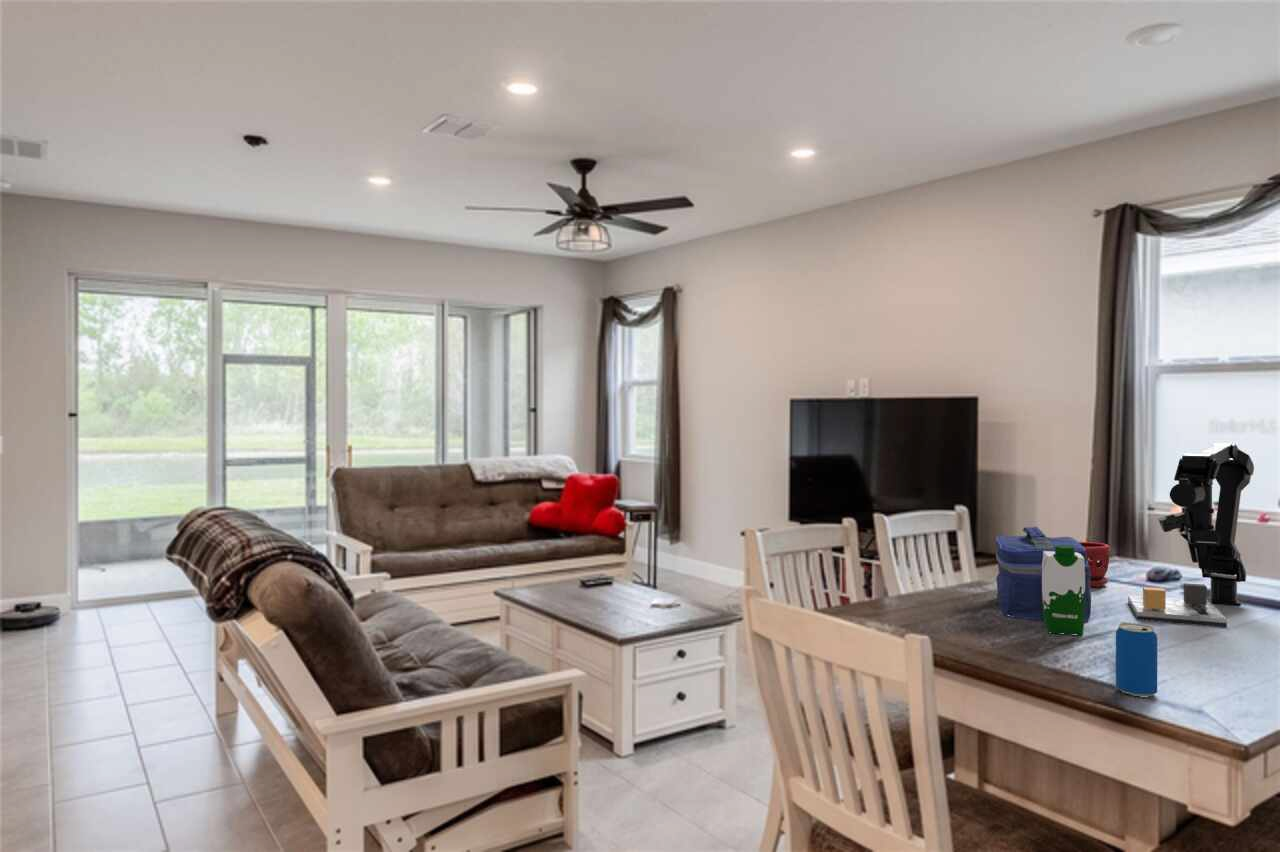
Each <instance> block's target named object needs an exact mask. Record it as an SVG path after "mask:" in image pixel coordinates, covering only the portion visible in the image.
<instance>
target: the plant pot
mask: <svg viewBox="0 0 1280 852" xmlns="http://www.w3.org/2000/svg"><path fill="white" fill-rule="evenodd" d="M1077 542H1078V543H1080V544H1081V545H1082V546H1083V547H1084V548H1085V551H1086V556H1087V561H1088V564H1089V567H1090V571H1089V572H1090V574H1091V581H1090V588H1094V587H1095V588H1096V587H1103V586H1104V585H1106V584H1107V583H1108V581H1109V579H1108V578H1107V577H1106V574H1107V571H1108V568H1109V566H1110V565H1109V564H1110V546H1109V544H1106V543H1101V542H1092V541H1091V542H1089V541H1077Z"/></svg>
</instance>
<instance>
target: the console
mask: <svg viewBox="0 0 1280 852" xmlns="http://www.w3.org/2000/svg"><path fill="white" fill-rule="evenodd" d="M1127 603H1128V605H1129V606H1130V609H1131V610H1132V612H1133V613H1134V616H1135V617H1136V619H1137V621H1145V620H1148V621H1147V622H1157V621H1160V622H1159V623H1169V622H1172V624H1181V623H1184V624H1185V625H1193V624H1196V625H1197V626H1205V625H1209V627H1219V628H1220V627H1221V628H1227V627H1228V622H1227V621H1228V620H1227V619H1228V618H1226V616H1225V615H1224V614H1223V613H1222V612H1221V611H1220V610H1219V609H1218V608H1217V607H1216V606H1215V605H1214V603H1211V602H1210V601H1209V600H1207V605H1198V609H1194V608H1193V607H1192V604H1186V603H1185V602H1184V598H1176V597H1175V598H1173V597H1166V610H1164V609H1157V611H1151V608H1144V606H1143V595H1134V594H1128V595H1127Z"/></svg>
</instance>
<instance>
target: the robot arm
mask: <svg viewBox="0 0 1280 852" xmlns="http://www.w3.org/2000/svg"><path fill="white" fill-rule="evenodd" d="M1254 473H1255V466H1254V462H1253V460H1252V458H1251V457H1250V455H1249V454H1247V452H1244V451H1243V450H1240V448H1239V447H1238V445H1236V443H1235V444H1234V443H1233V442H1232V443H1231V442H1230V443H1229V442H1228V443H1227V442H1223V443H1222V442H1216V443H1213V444H1212V445H1211V446H1210V447H1208V448H1205V450H1203V451H1201V452H1198V453H1197V452H1193V453H1189V452H1188V453H1184V454H1183V455H1182V456H1181V457H1180V459H1179V461H1178V465H1177V467H1176V471H1175V475H1174V478H1173V479H1174V481H1176V482H1178V483H1177V484H1175V485H1174V486H1172V488H1171V489H1170V491H1169V498H1170V500H1171V502H1172V503H1173V504H1175V505H1176V506H1179V507H1181V512H1178V513H1171V514H1169V515H1165V516H1162V517H1159V518H1157V520H1158V524H1159V525H1160V527H1161V530H1162V531H1163V533H1167V532H1172V531H1173V530H1177V531H1178V533H1179V535H1180V536H1181V537H1182V538H1183V539H1184V540H1185V541H1186V542H1187V547H1188V551H1189V555H1190V558H1191V561H1192V563H1195V564H1196V563H1197V564H1198V569H1200V571H1201V575H1202V578H1204V579H1205V578H1209V579H1210V596H1207V601H1210V602H1211V603H1212V604H1223V605H1235V606H1237V605H1238V606H1241V605H1242V602H1240V601H1239V600H1238V583H1241V582H1242V583H1243V582H1247V571H1246V568H1245V566H1244V563H1243V561H1242V558H1241V555H1242V554H1241V553H1240V551H1239V549H1238V547H1237V546H1236V544H1235V543H1236V542H1235V541H1236V533H1237V528H1238V527H1237V526H1238V518H1239V509H1240V503H1241V497H1242V496H1241V495H1242V491H1243V490H1244V489H1245V488H1246V487H1247V486H1248V485H1249V484H1250V482H1251V478H1252V476H1253V475H1254ZM1214 480H1216V482H1217V484H1218V486H1219V495H1218V503H1217V508H1216V509H1217V510H1216V517H1215V523H1214V524H1215V525H1213V514H1214V513H1215V509H1214V508H1213V484H1214V483H1213V481H1214Z"/></svg>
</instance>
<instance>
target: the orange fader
mask: <svg viewBox="0 0 1280 852" xmlns="http://www.w3.org/2000/svg"><path fill="white" fill-rule="evenodd" d="M1142 596H1143V606H1144V608H1151V611H1157V609H1164V610H1166V598H1167V597H1166V589H1165V588H1161V587H1146V586H1143V587H1142Z"/></svg>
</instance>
